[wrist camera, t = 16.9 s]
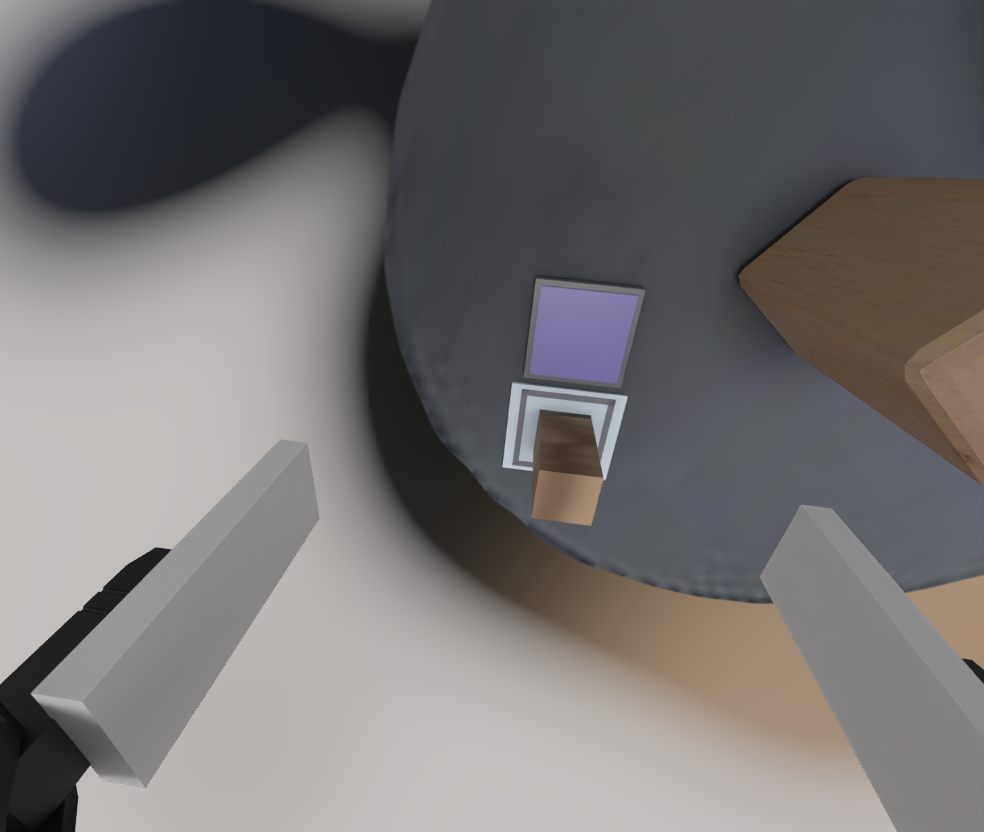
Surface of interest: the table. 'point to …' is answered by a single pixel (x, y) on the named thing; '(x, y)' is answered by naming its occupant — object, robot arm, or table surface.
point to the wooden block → (890, 304)
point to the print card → (571, 400)
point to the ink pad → (581, 331)
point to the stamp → (565, 468)
